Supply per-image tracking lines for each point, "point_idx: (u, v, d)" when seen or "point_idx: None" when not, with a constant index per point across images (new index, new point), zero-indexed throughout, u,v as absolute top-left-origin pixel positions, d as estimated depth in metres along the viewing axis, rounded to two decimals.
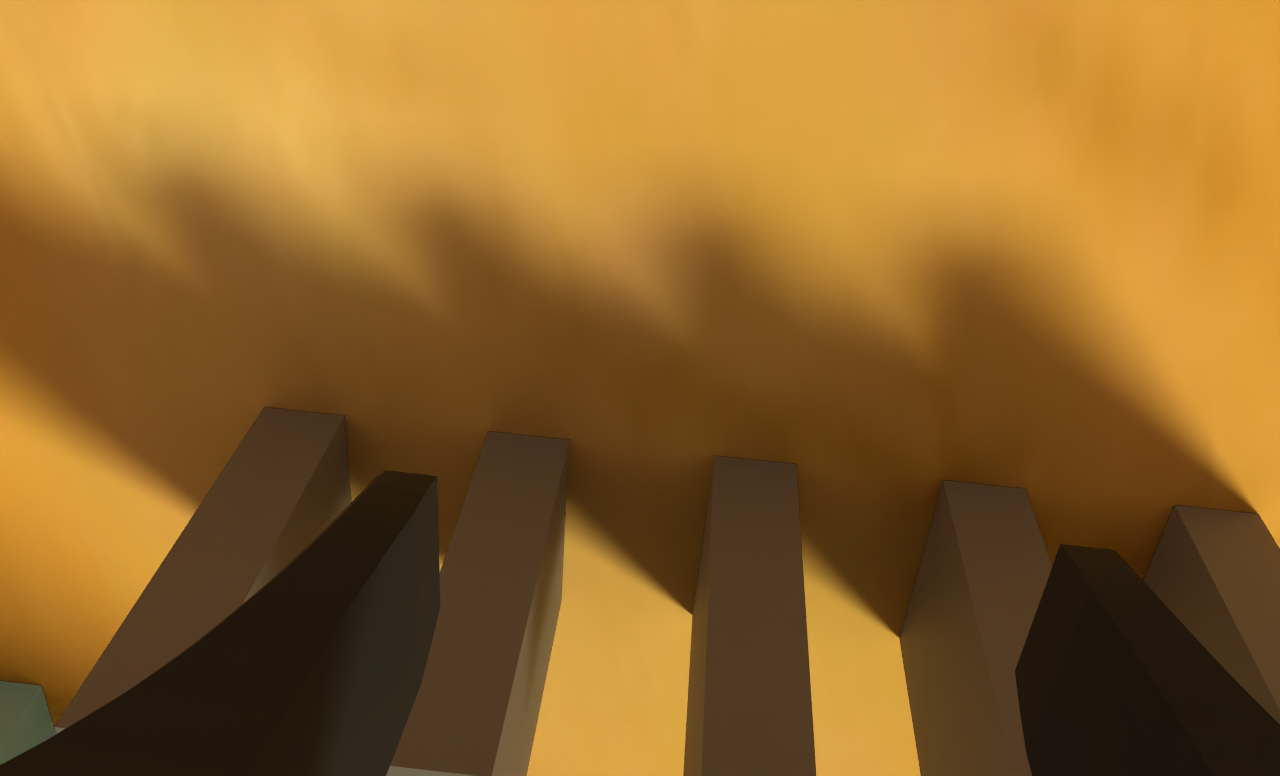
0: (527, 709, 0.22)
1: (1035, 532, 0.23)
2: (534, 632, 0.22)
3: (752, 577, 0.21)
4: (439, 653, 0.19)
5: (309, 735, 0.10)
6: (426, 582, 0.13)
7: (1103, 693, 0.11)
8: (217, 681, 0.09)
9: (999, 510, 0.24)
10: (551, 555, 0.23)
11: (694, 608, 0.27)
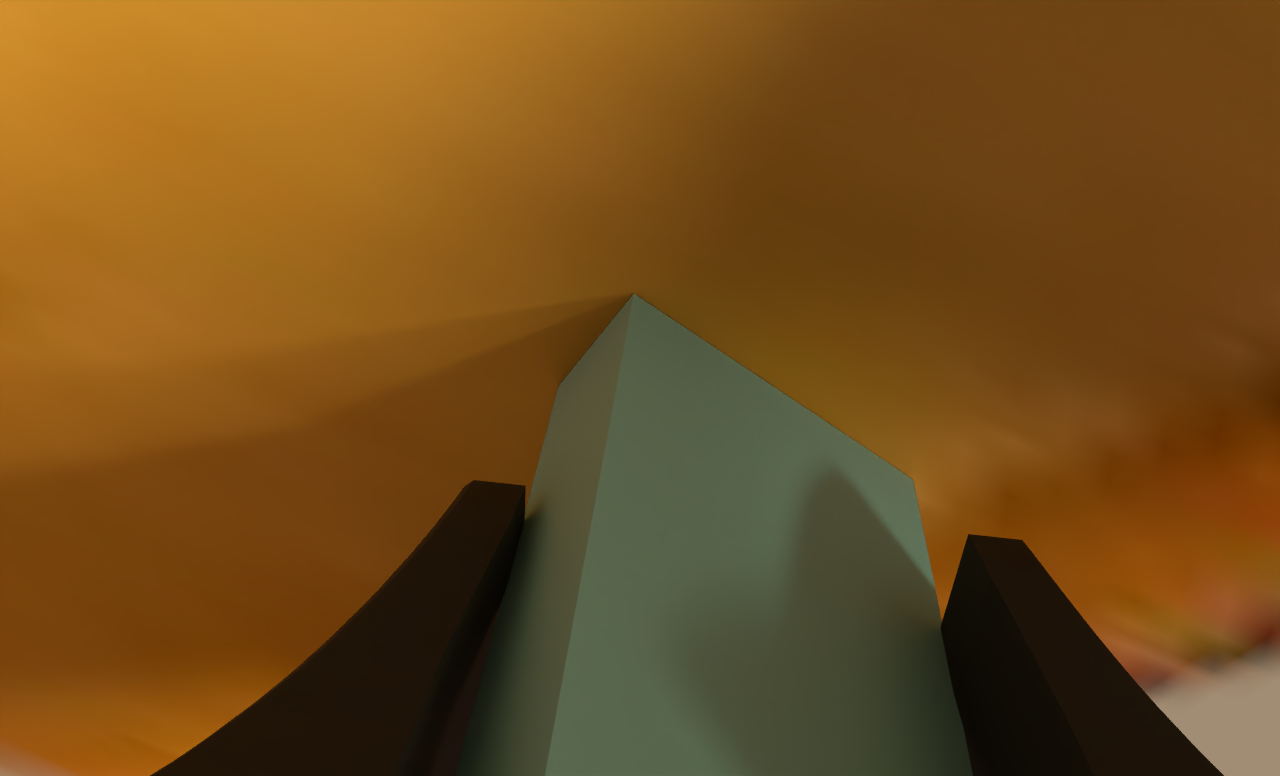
0: None
1: None
2: None
3: None
4: None
5: (428, 749, 0.10)
6: None
7: (1000, 681, 0.11)
8: (341, 695, 0.09)
9: None
10: None
11: None
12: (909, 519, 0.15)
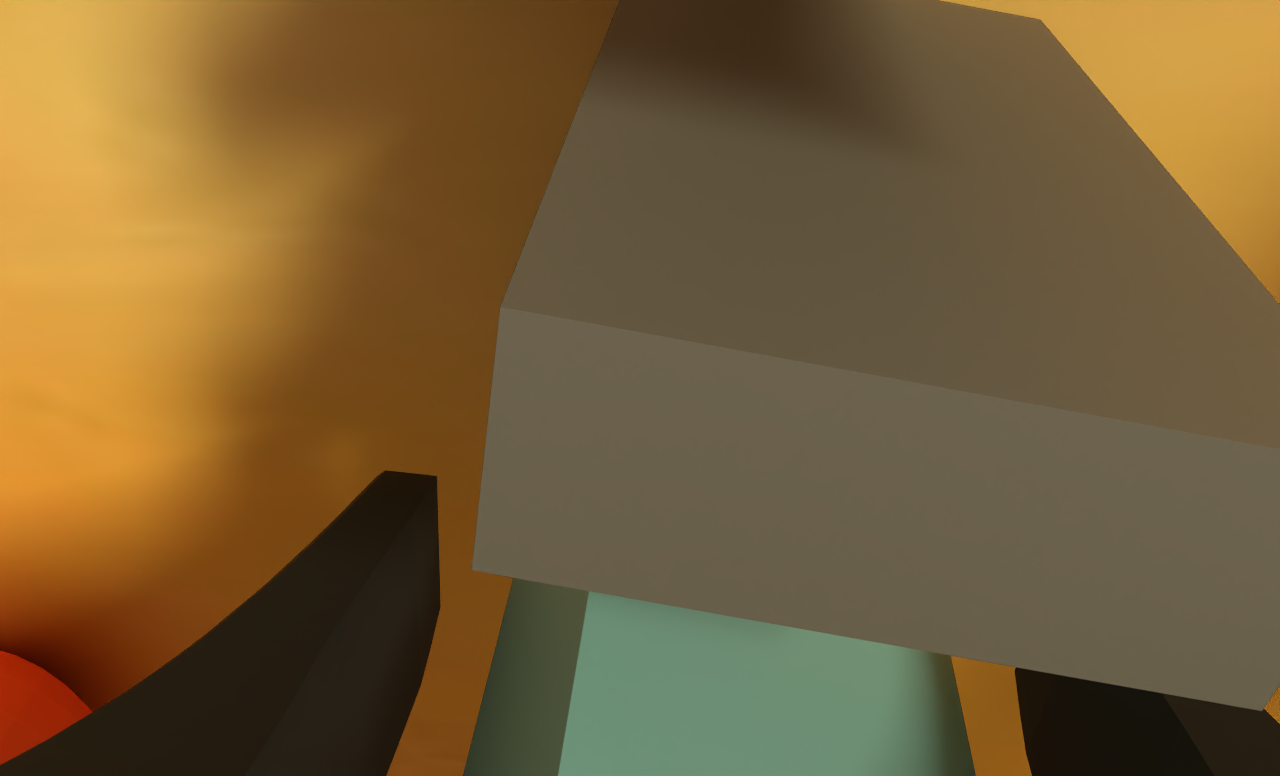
0: None
1: None
2: None
3: None
4: None
5: (309, 735, 0.10)
6: (426, 582, 0.13)
7: (1103, 693, 0.11)
8: (217, 681, 0.09)
9: None
10: None
11: None
12: None
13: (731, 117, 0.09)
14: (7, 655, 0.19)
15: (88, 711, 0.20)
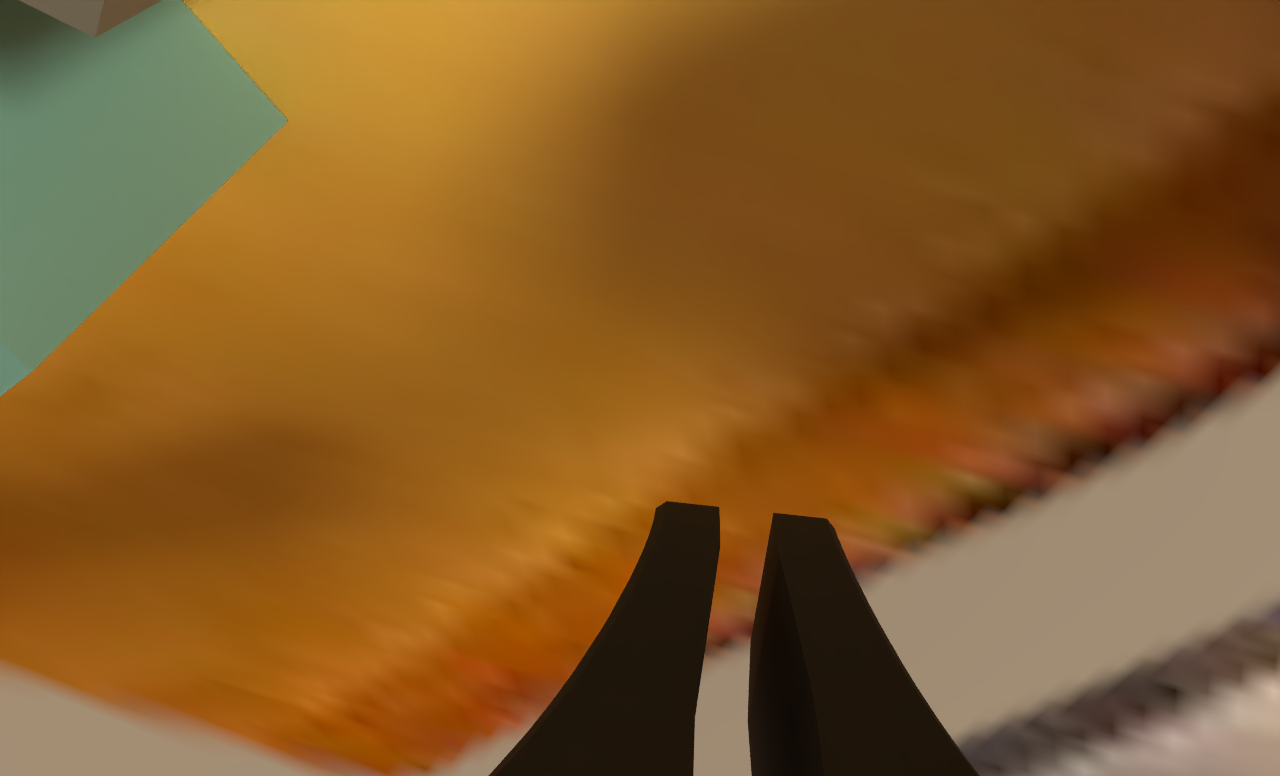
0: None
1: None
2: None
3: None
4: None
5: None
6: None
7: (780, 657, 0.11)
8: (612, 726, 0.09)
9: None
10: None
11: None
12: (257, 129, 0.20)
13: None
14: None
15: None
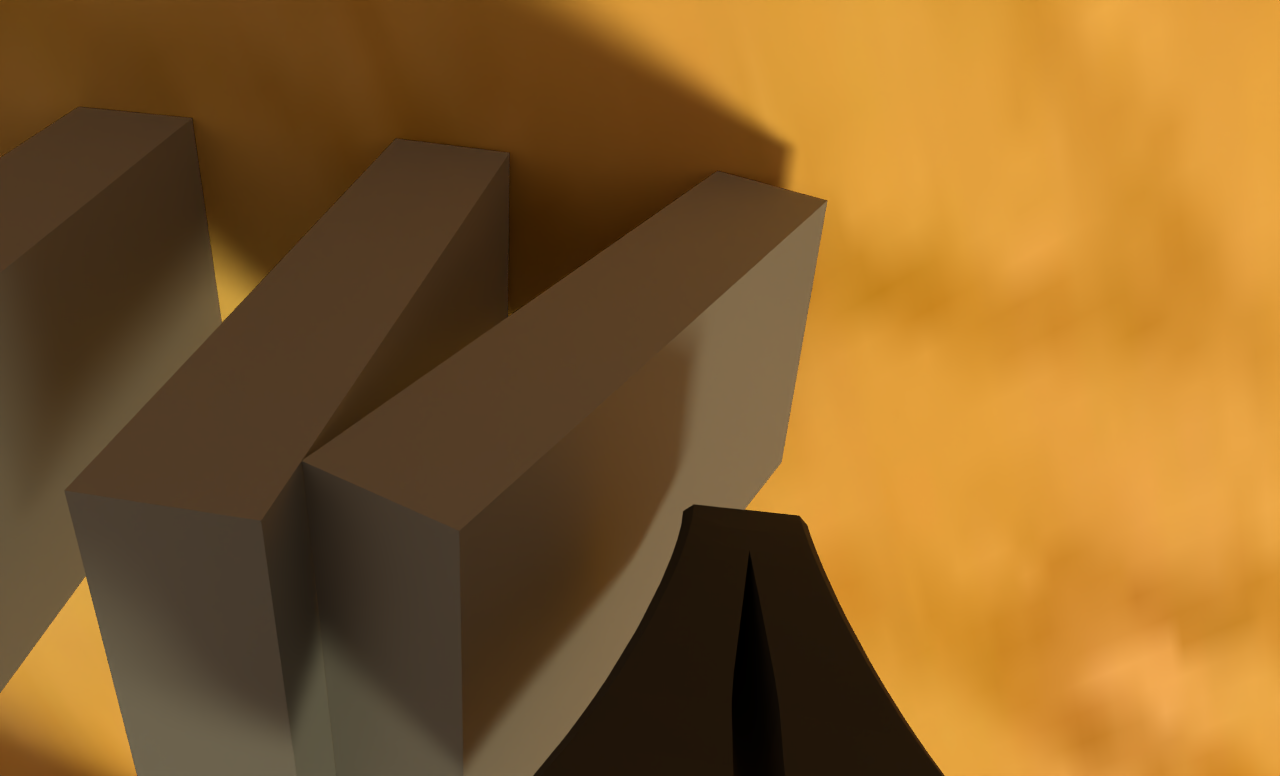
0: None
1: (476, 188, 0.16)
2: None
3: None
4: None
5: None
6: None
7: (749, 653, 0.11)
8: (650, 731, 0.09)
9: (445, 167, 0.17)
10: None
11: None
12: None
13: None
14: None
15: None
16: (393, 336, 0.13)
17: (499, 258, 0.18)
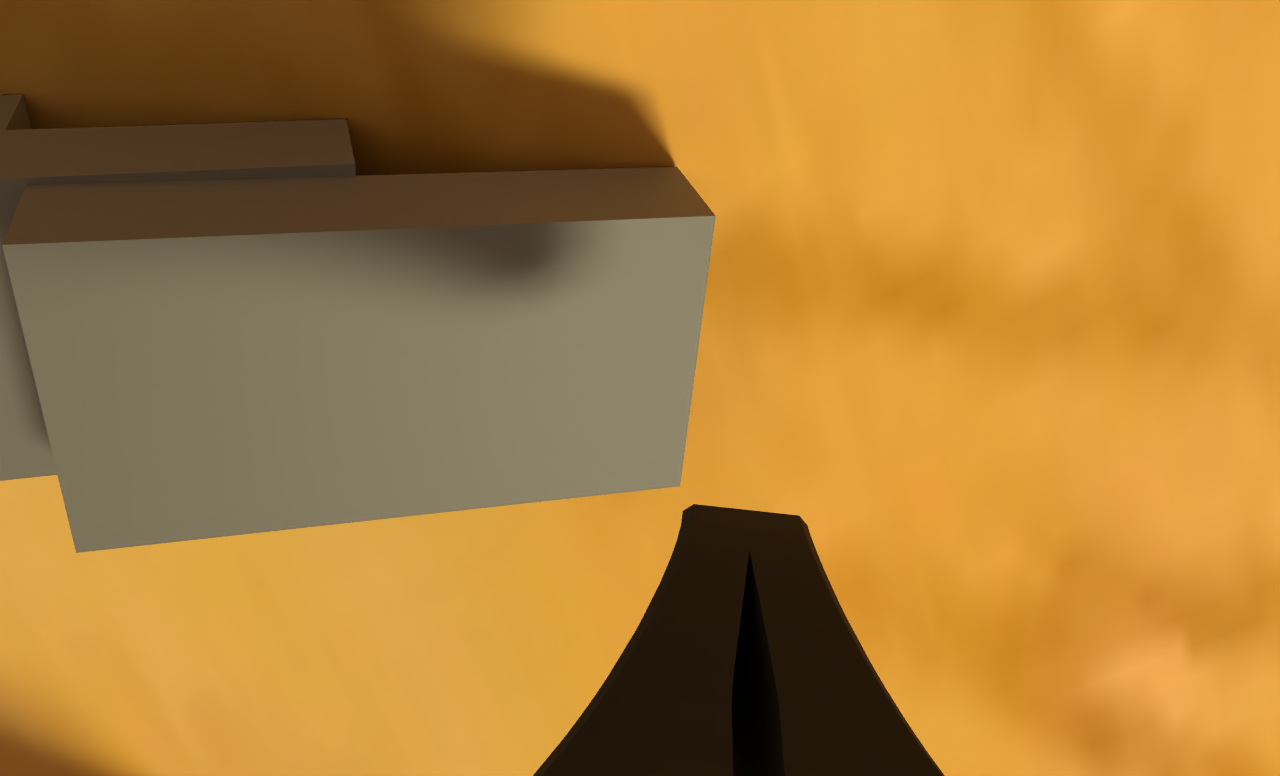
0: None
1: (243, 165, 0.16)
2: None
3: None
4: None
5: None
6: None
7: (749, 653, 0.11)
8: (650, 731, 0.09)
9: (287, 146, 0.16)
10: None
11: None
12: None
13: None
14: None
15: None
16: None
17: None
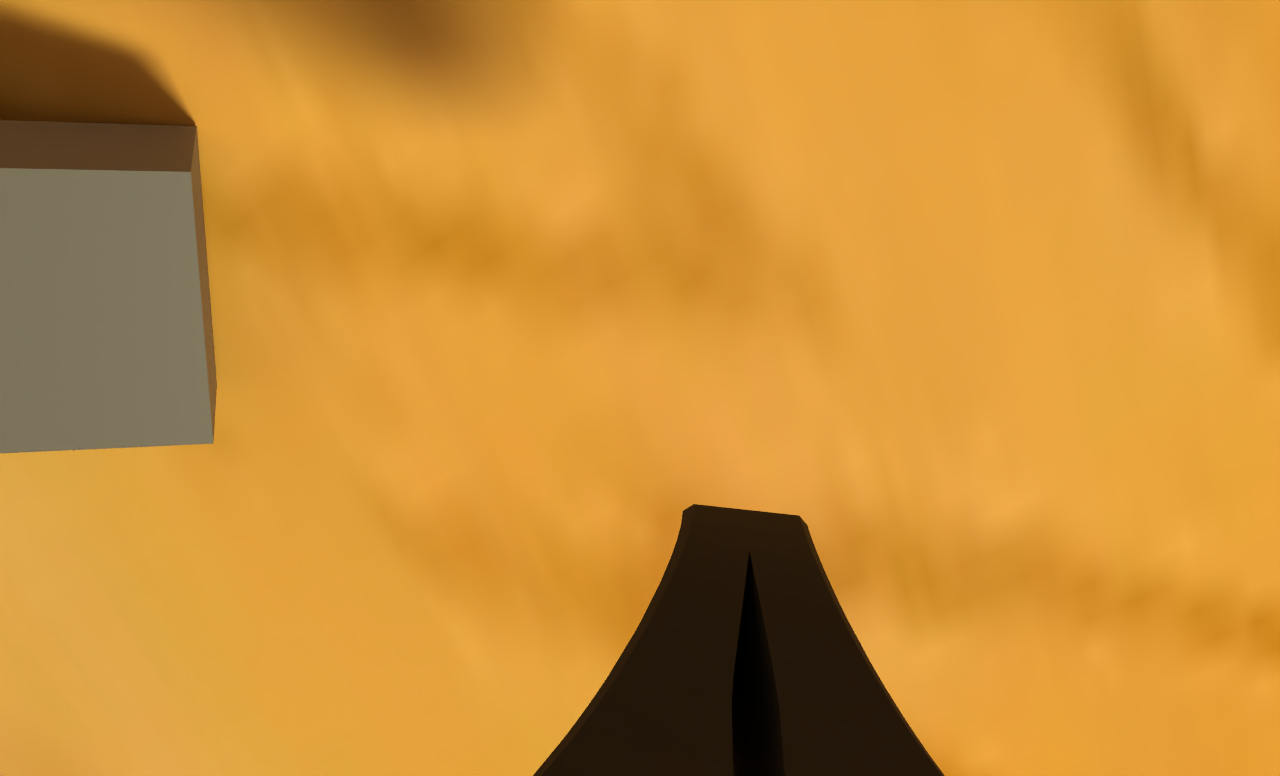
0: None
1: None
2: None
3: None
4: None
5: None
6: None
7: (749, 653, 0.11)
8: (650, 731, 0.09)
9: None
10: None
11: None
12: None
13: None
14: None
15: None
16: None
17: None
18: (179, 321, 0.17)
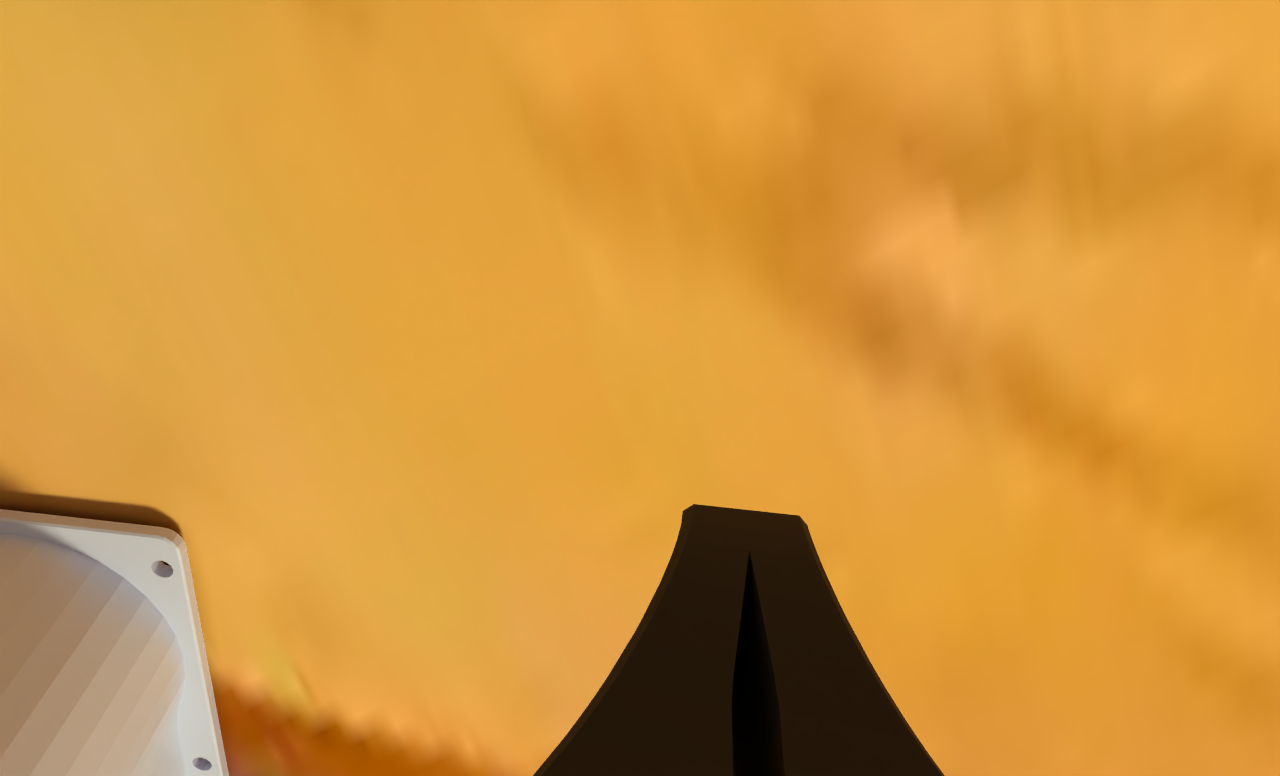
0: None
1: None
2: None
3: None
4: None
5: None
6: None
7: (749, 653, 0.11)
8: (649, 731, 0.09)
9: None
10: None
11: None
12: None
13: None
14: None
15: None
16: None
17: None
18: None
